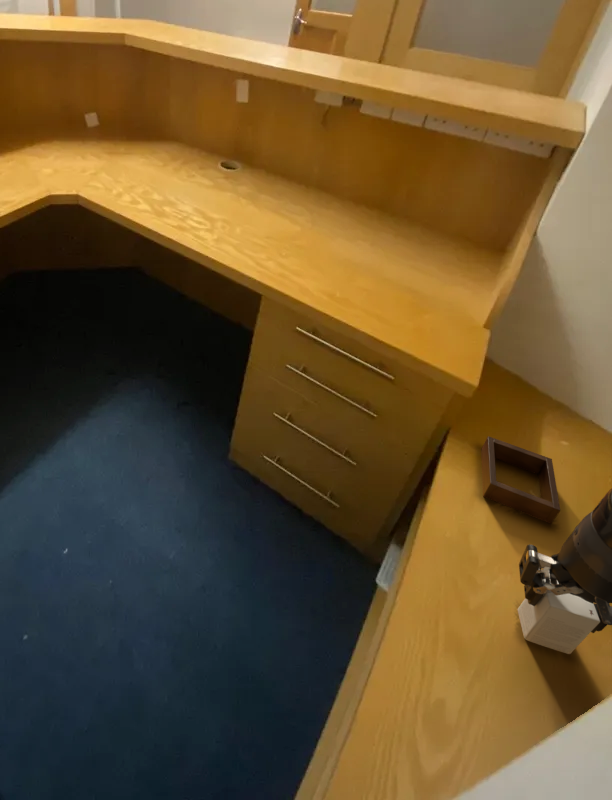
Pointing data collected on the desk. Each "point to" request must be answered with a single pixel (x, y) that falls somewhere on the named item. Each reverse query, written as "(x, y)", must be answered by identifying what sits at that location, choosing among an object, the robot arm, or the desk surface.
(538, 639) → the cosmetic box
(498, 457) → the box
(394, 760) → the desk surface
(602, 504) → the robot arm
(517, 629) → the desk surface
